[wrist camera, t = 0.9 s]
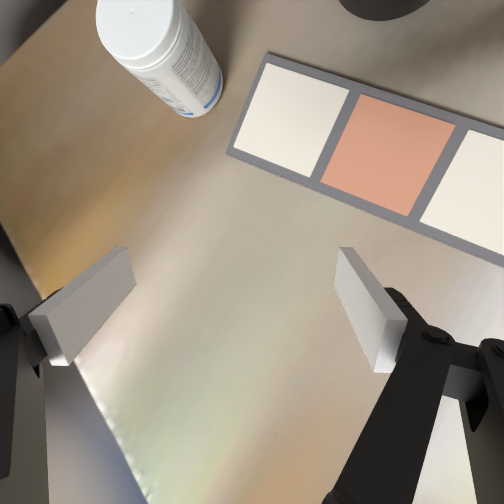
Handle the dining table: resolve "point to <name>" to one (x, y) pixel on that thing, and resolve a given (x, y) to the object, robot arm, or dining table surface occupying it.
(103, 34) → the supplement tub
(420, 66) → the dining table surface
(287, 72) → the game board
